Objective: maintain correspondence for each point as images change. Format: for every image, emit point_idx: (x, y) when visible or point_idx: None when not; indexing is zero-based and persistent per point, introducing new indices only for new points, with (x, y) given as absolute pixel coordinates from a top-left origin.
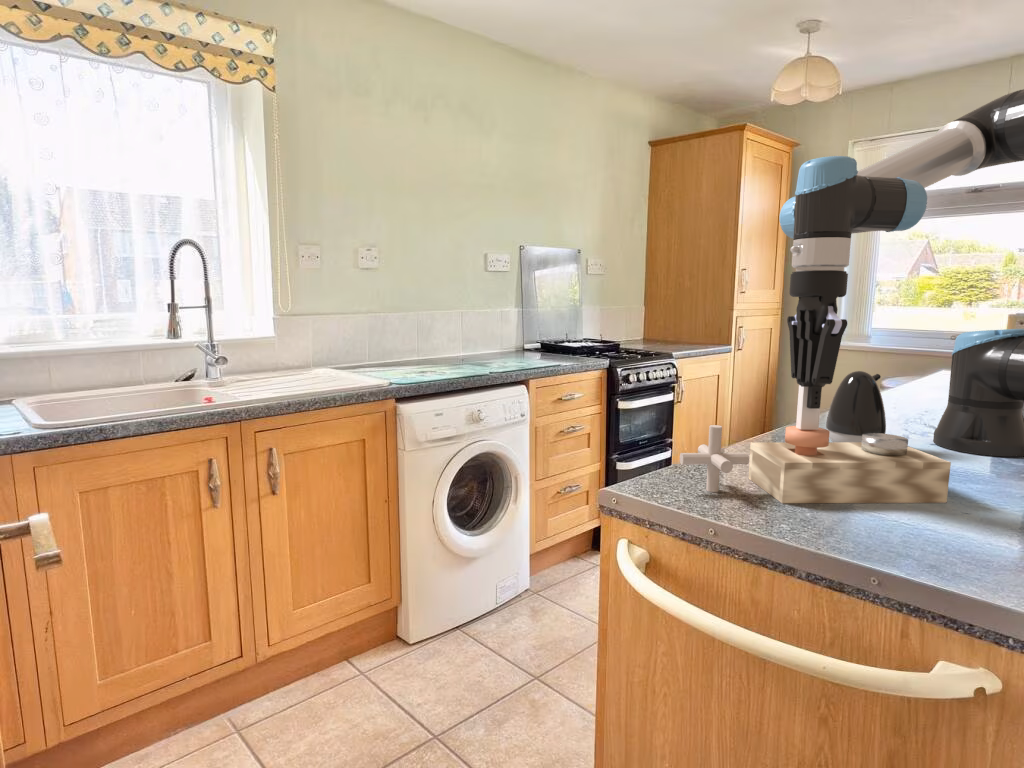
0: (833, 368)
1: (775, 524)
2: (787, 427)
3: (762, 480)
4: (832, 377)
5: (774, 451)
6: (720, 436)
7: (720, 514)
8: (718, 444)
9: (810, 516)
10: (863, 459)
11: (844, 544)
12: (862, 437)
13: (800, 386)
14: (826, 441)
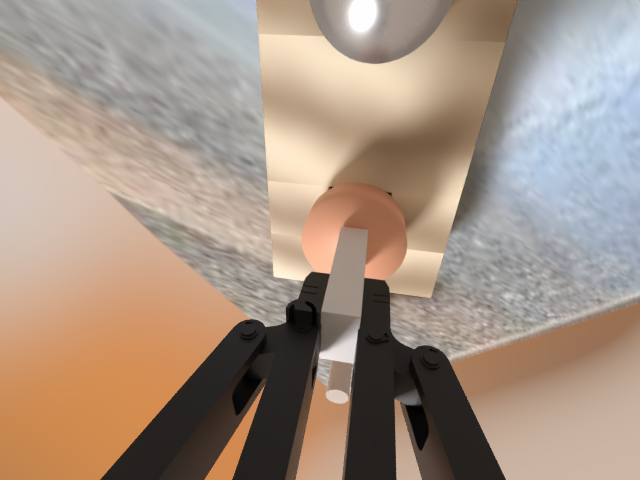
0: (476, 427)
1: (500, 302)
2: (321, 272)
3: None
4: (456, 379)
5: None
6: (348, 378)
7: (444, 338)
8: (350, 368)
9: (488, 245)
10: (450, 123)
11: (606, 264)
12: (348, 57)
13: (330, 357)
14: (400, 213)
